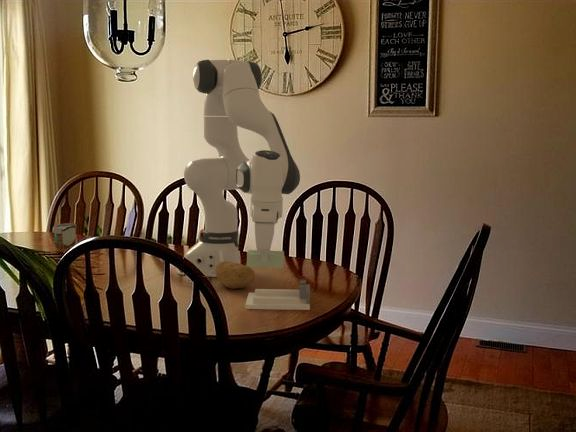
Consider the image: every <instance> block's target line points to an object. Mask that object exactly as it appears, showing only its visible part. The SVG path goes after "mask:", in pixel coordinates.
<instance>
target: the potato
mask: <svg viewBox="0 0 576 432" xmlns="http://www.w3.org/2000/svg"><path fill="white" fill-rule="evenodd" d="M252 268H253V267H252ZM252 268H251V267H247V265H245V264H242V263H240V264H239V263H234V262H229V261H222V262H220V263H218V264H217V265H216V267H215V273H216V276H217V277H216V279H217V281H218V282H219V283H221V285H224V286H225V287H227V288H229V289H245V288H247V287H248V286H250V285H251V284H252V282H254V280H255V277H256V274H255V272H254V269H252Z"/></svg>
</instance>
